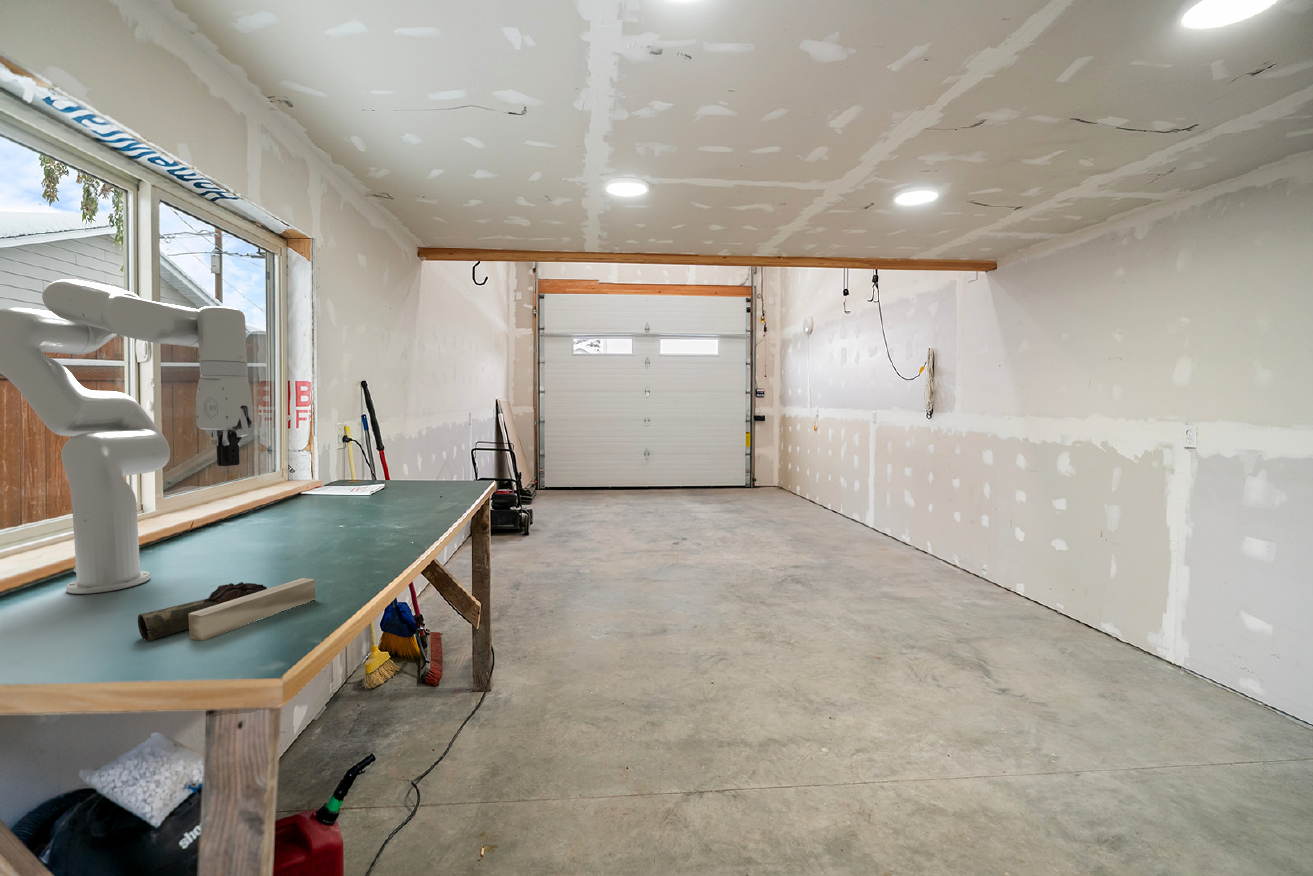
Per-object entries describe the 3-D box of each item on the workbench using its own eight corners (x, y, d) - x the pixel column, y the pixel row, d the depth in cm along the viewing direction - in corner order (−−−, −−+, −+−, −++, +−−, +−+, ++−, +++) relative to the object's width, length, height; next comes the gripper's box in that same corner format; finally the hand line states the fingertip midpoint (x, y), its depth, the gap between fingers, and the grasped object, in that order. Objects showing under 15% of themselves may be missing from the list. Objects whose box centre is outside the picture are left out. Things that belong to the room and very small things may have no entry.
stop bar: (189, 638, 92) (188, 613, 92) (303, 598, 111) (303, 577, 111) (202, 641, 91) (201, 616, 91) (315, 600, 110) (314, 579, 110)
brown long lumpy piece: (147, 645, 90) (145, 610, 90) (135, 636, 94) (132, 602, 94) (274, 611, 105) (272, 580, 104) (259, 604, 109) (257, 574, 108)
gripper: (177, 371, 112) (182, 466, 114) (231, 370, 107) (235, 468, 109) (217, 373, 120) (222, 462, 121) (270, 372, 114) (274, 464, 116)
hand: (228, 465), depth 115 cm, fingers closed
